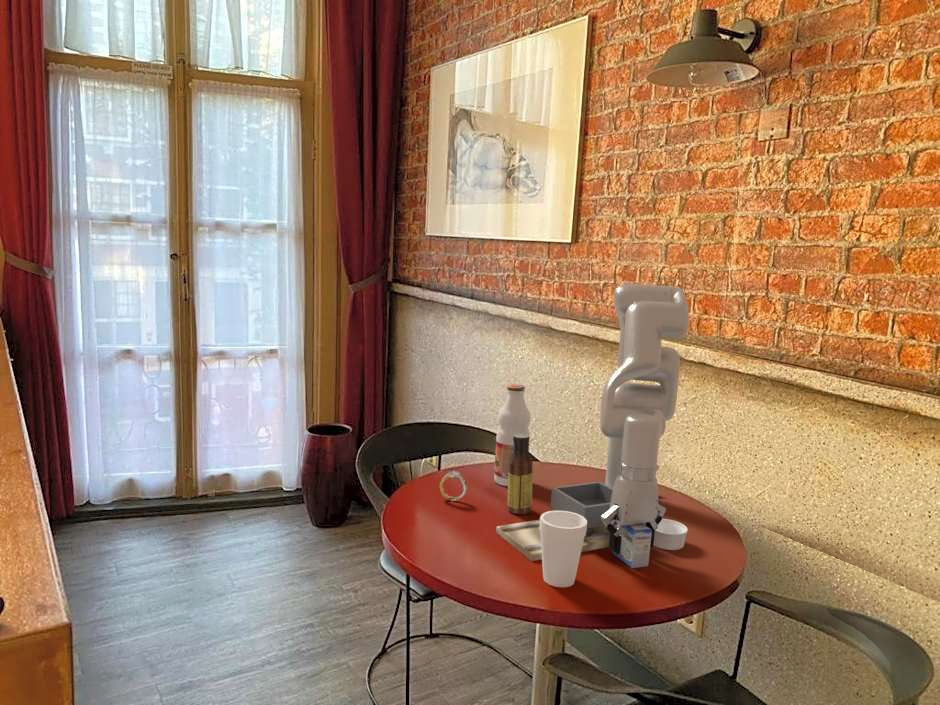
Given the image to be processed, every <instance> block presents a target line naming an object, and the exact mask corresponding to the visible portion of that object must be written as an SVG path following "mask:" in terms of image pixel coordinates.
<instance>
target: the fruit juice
mask: <svg viewBox="0 0 940 705" xmlns="http://www.w3.org/2000/svg"><path fill="white" fill-rule="evenodd" d="M506 387H507V388H506V390H507V391H506V392H507V397H506V400H505V402H504V404H503V406H502V407H501V408H500V409H499V411H498V415H497V419H498V424H499V425H498V428H497V431H496V436H495V437H496V438H495V454H494V456H495V457H494V459H495V460H494V470H493V472H494V474H493V479H494V480H493V481H494V483H496V484H498V485H500V486H503V487H508V470H509V459H510V457H511V455H512V454H513V449H514V441H513V435H515V434H526V435H529V444H528V450H529V452H528V453H529V454H530V442H531V441H530V439H531V438H530V437H531V436H530V435H531V434H530V431H529V426H530V422H531V413H530V411H529V409H528V407H527V405H526V402H525V397H524V393H525V390H526V387H525V386H524V385H523V384H516V383H515V384H511V383H510V384H508V385H507V386H506Z"/></svg>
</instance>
